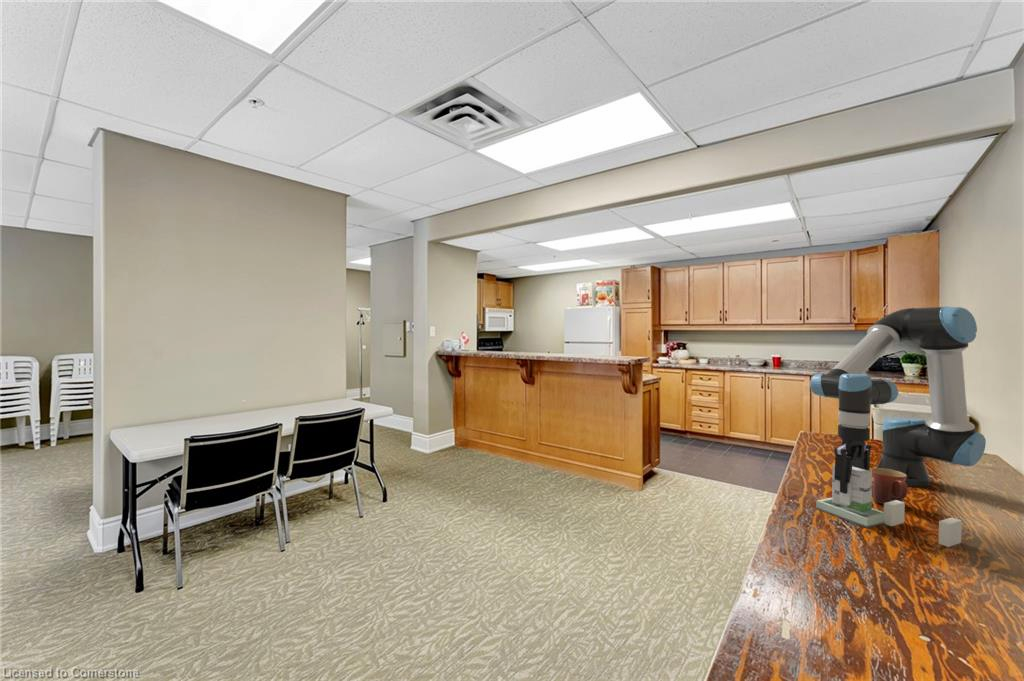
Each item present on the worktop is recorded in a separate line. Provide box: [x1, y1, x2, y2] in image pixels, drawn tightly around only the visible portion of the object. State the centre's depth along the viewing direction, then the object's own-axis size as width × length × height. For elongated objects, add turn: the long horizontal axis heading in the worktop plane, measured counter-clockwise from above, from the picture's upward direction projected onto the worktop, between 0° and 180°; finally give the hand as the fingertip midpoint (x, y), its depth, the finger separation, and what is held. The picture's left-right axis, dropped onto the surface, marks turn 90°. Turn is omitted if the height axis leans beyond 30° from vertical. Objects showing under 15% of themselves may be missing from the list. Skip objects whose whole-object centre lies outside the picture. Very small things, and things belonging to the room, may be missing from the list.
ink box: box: [831, 464, 873, 512], centre depth 130 cm, size 9×5×12 cm, turn 26°
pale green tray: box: [815, 496, 885, 529], centre depth 130 cm, size 10×14×3 cm
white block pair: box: [883, 500, 963, 548], centre depth 119 cm, size 6×14×6 cm, turn 22°
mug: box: [870, 467, 908, 506], centre depth 137 cm, size 12×9×10 cm
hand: (851, 501), depth 130 cm, fingers closed on ink box, 5 cm apart
